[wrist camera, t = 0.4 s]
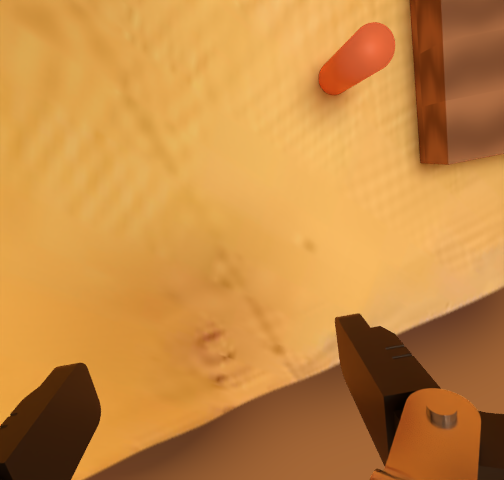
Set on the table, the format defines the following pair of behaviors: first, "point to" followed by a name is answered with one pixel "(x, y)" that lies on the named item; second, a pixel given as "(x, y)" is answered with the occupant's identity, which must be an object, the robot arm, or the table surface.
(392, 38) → the dowel
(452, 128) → the bore block
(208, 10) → the table surface
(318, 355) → the table surface
